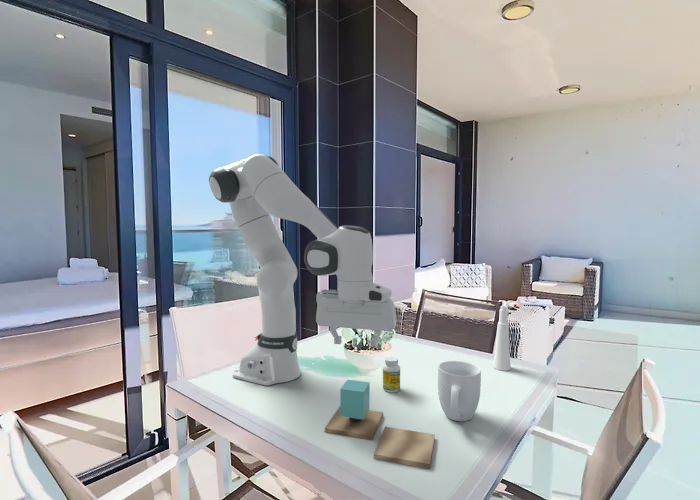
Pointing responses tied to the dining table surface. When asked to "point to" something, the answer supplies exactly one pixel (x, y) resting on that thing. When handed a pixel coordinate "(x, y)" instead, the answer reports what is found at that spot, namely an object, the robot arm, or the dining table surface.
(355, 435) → the post stand
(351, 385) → the teal rectangular block
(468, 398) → the mug
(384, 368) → the supplement bottle
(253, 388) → the dining table surface
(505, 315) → the cosmetic bottle
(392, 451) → the oak pad
